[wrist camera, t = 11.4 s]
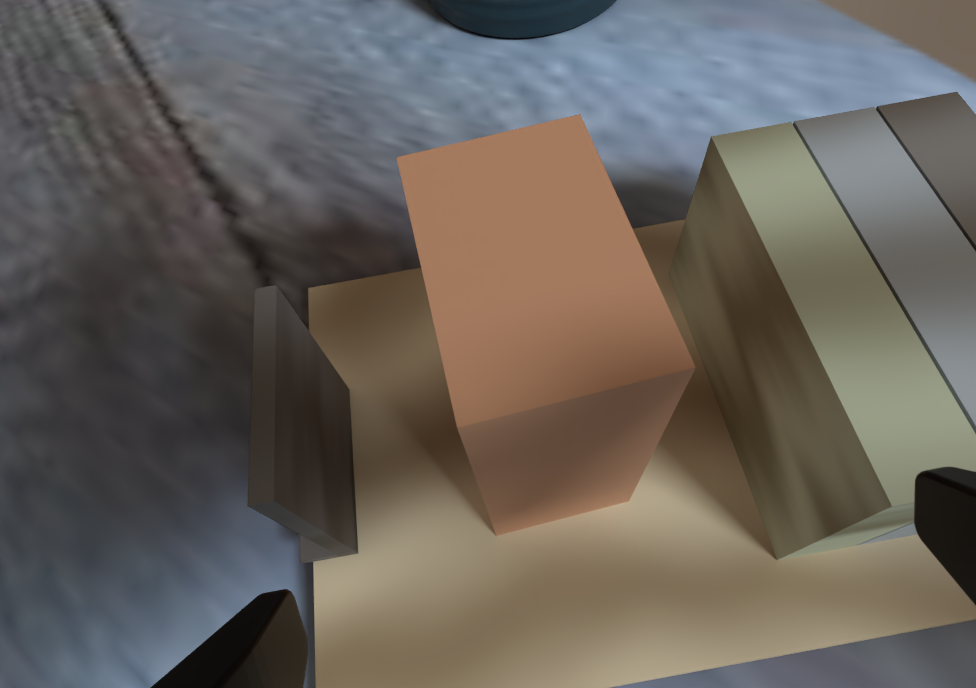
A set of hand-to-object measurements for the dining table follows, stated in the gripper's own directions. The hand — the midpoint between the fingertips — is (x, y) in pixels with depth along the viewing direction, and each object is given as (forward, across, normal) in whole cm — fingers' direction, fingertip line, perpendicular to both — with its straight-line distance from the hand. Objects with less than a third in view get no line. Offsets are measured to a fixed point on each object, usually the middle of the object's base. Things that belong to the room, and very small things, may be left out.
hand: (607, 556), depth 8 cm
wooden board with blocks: (+13, -3, +4) cm, 14 cm away
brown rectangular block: (+12, 0, +3) cm, 13 cm away
